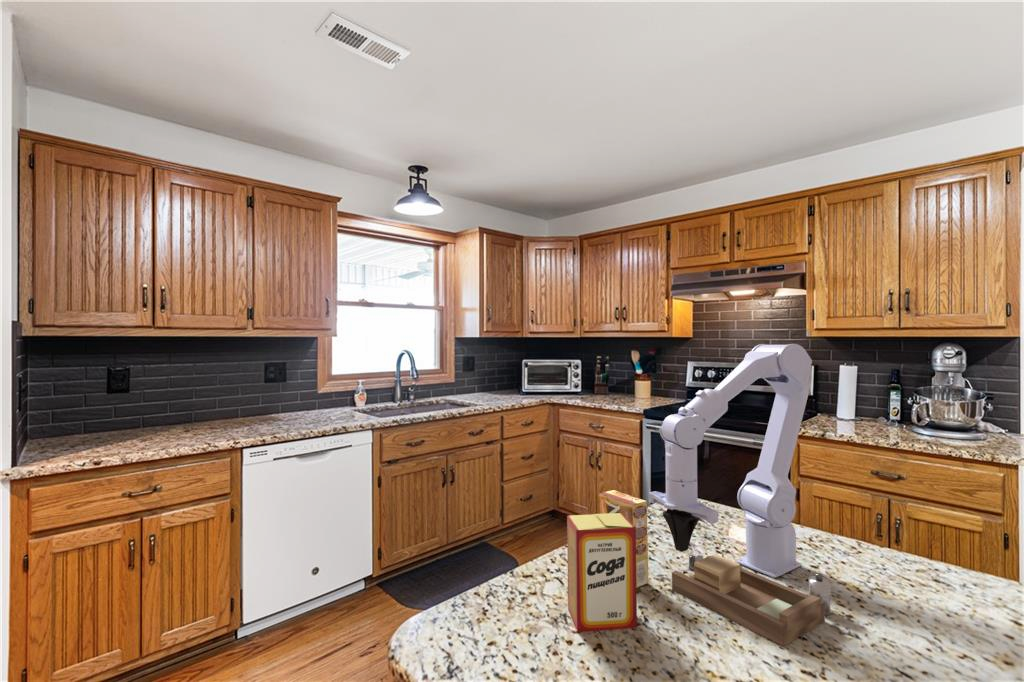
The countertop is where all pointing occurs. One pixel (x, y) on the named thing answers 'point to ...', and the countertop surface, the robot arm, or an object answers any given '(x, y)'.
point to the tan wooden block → (718, 573)
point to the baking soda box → (601, 572)
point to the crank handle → (692, 560)
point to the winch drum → (820, 590)
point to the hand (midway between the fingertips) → (681, 549)
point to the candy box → (637, 516)
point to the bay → (758, 605)
